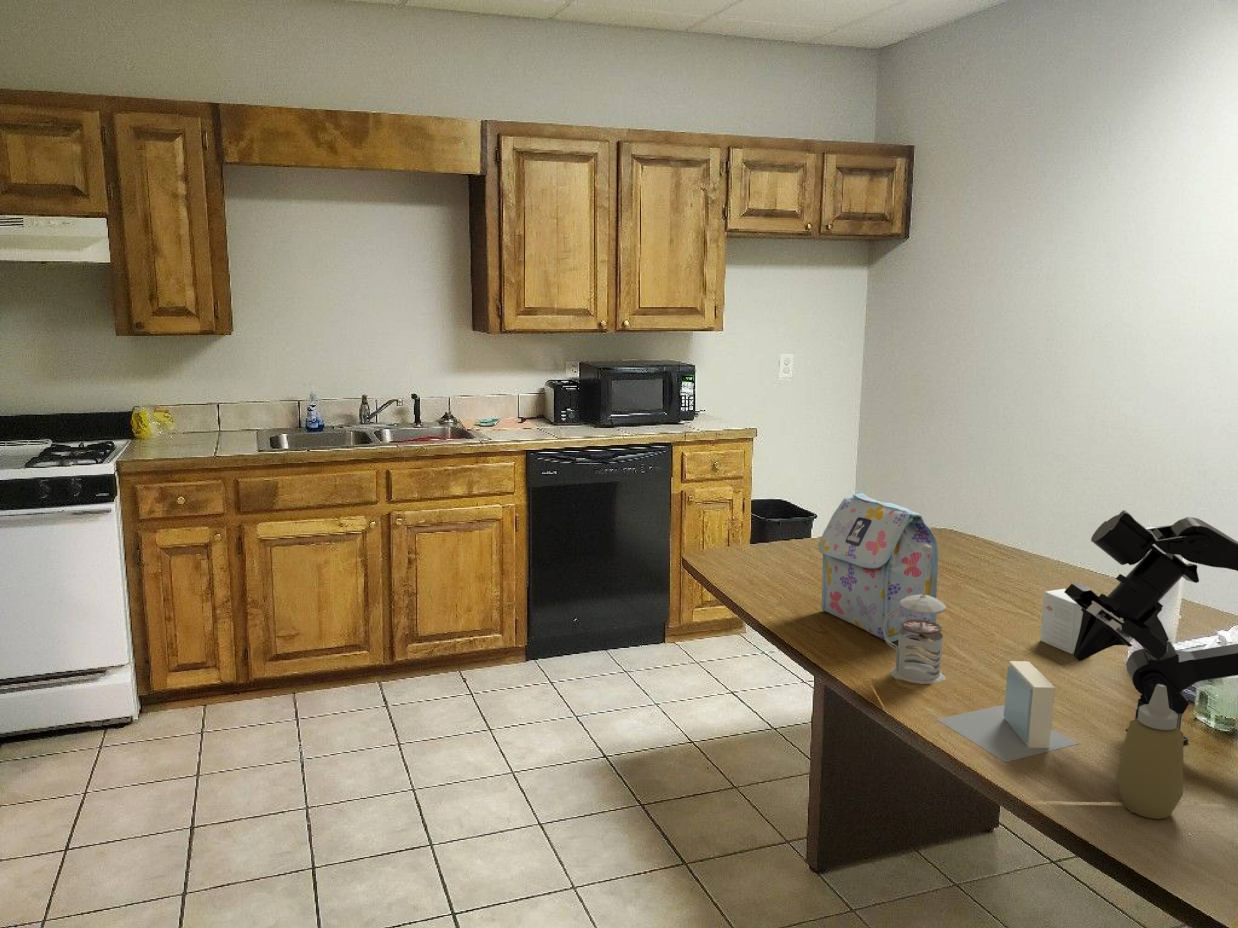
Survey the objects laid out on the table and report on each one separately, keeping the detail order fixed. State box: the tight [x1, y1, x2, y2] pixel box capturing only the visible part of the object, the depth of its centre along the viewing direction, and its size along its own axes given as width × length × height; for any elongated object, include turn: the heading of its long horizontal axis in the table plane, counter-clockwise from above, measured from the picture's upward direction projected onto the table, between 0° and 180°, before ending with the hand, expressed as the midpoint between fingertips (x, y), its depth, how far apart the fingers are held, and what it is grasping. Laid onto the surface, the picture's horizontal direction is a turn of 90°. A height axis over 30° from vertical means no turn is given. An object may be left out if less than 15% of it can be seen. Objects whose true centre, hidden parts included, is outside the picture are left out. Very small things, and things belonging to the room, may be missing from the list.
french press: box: [883, 545, 947, 685], centre depth 169 cm, size 10×12×25 cm
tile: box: [1004, 660, 1056, 748], centre depth 148 cm, size 4×10×10 cm, turn 179°
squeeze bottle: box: [1116, 684, 1184, 820], centre depth 126 cm, size 8×8×18 cm
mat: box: [935, 703, 1080, 763], centre depth 149 cm, size 15×15×1 cm
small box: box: [1039, 588, 1083, 655], centre depth 185 cm, size 8×6×10 cm
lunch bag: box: [817, 492, 940, 643], centre depth 196 cm, size 22×17×26 cm
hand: (1076, 658), depth 146 cm, fingers closed
